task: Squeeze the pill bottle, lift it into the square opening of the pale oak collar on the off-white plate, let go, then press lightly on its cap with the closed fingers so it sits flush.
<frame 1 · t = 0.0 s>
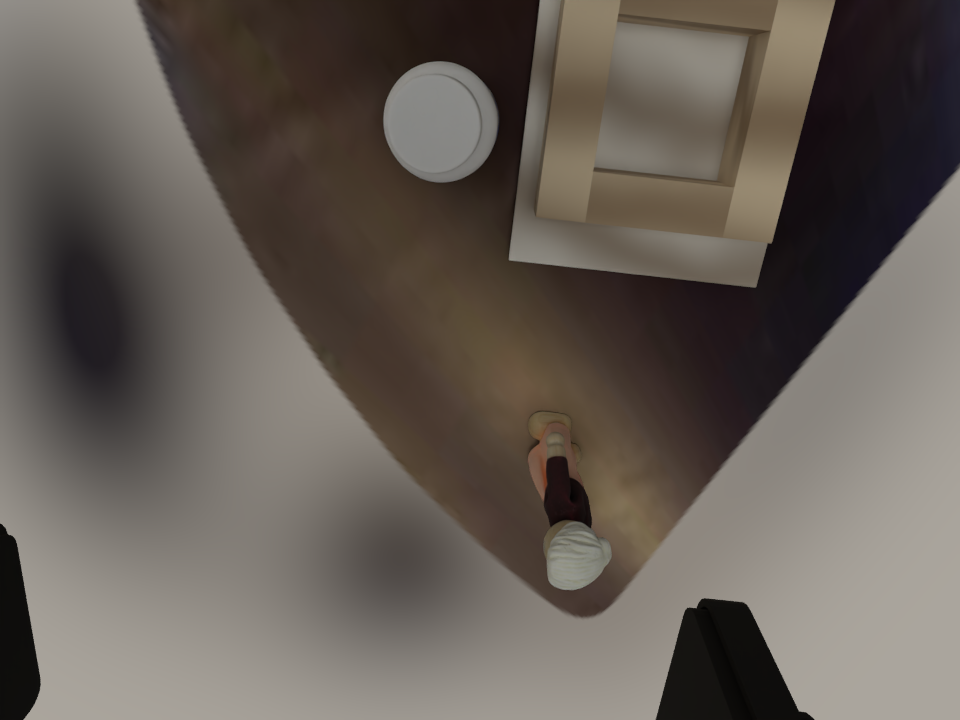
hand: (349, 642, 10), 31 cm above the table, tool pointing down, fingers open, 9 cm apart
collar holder: (660, 103, 36), on the table
grandmother figurine: (556, 446, 44), on the table
pill bottle: (450, 120, 37), on the table
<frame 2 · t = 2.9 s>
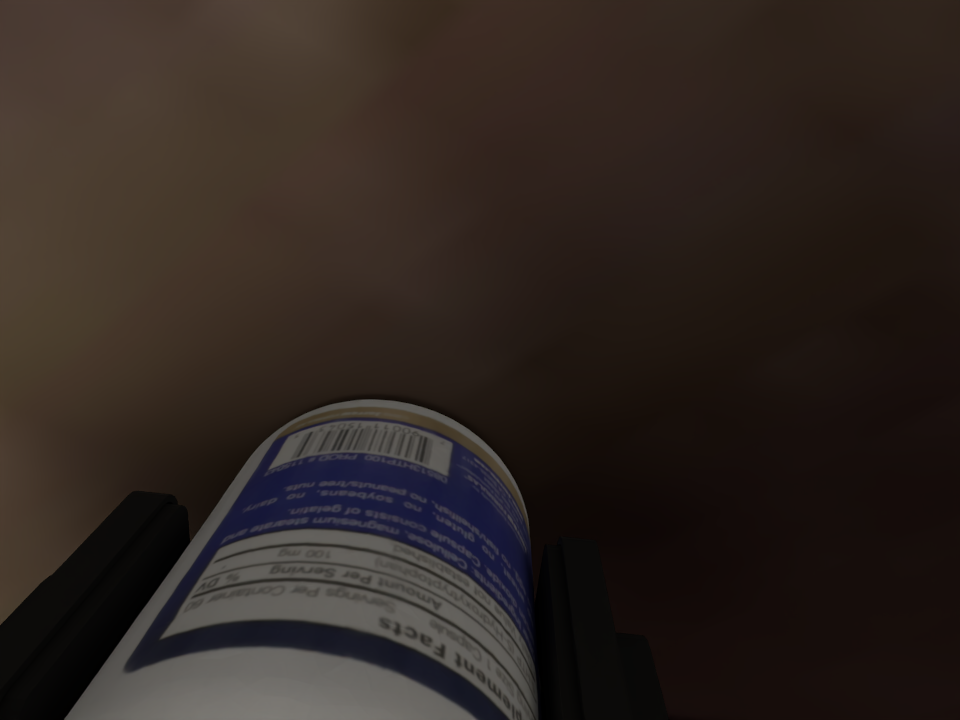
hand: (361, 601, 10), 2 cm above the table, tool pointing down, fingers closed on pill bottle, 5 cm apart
pill bottle: (386, 517, 12), on the table, touching gripper
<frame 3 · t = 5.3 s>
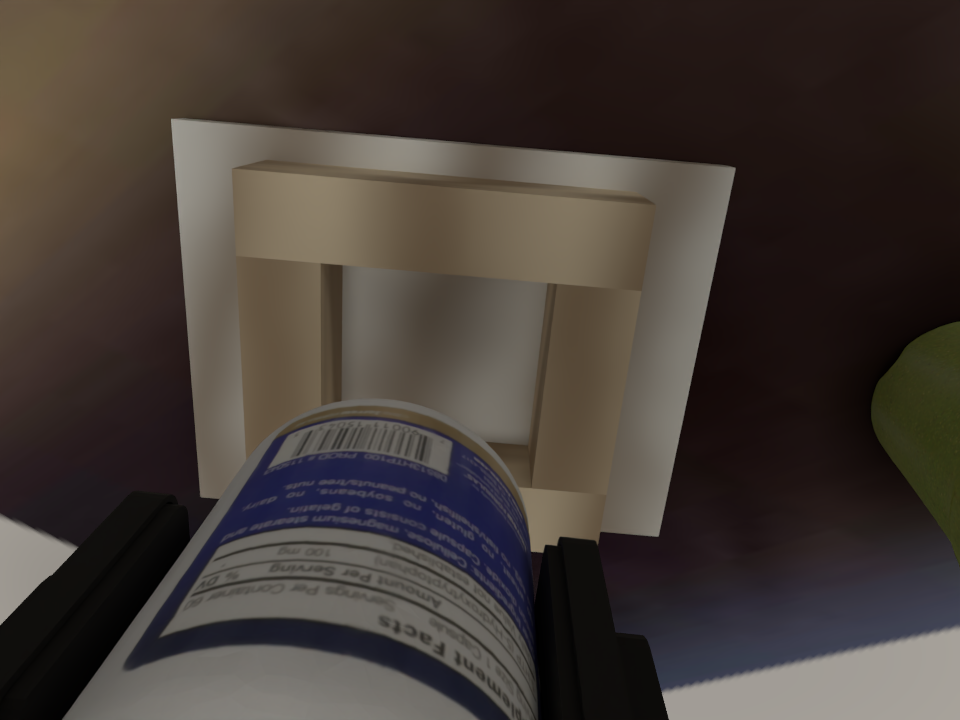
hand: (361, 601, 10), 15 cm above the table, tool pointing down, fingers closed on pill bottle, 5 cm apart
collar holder: (442, 340, 25), on the table
plant pot: (947, 394, 25), on the table
pill bottle: (386, 516, 12), point 13 cm above the table, touching gripper
when the fingers open (4 cm above the table, at t = 7.9 s): pill bottle drops 1 cm, resting on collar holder.
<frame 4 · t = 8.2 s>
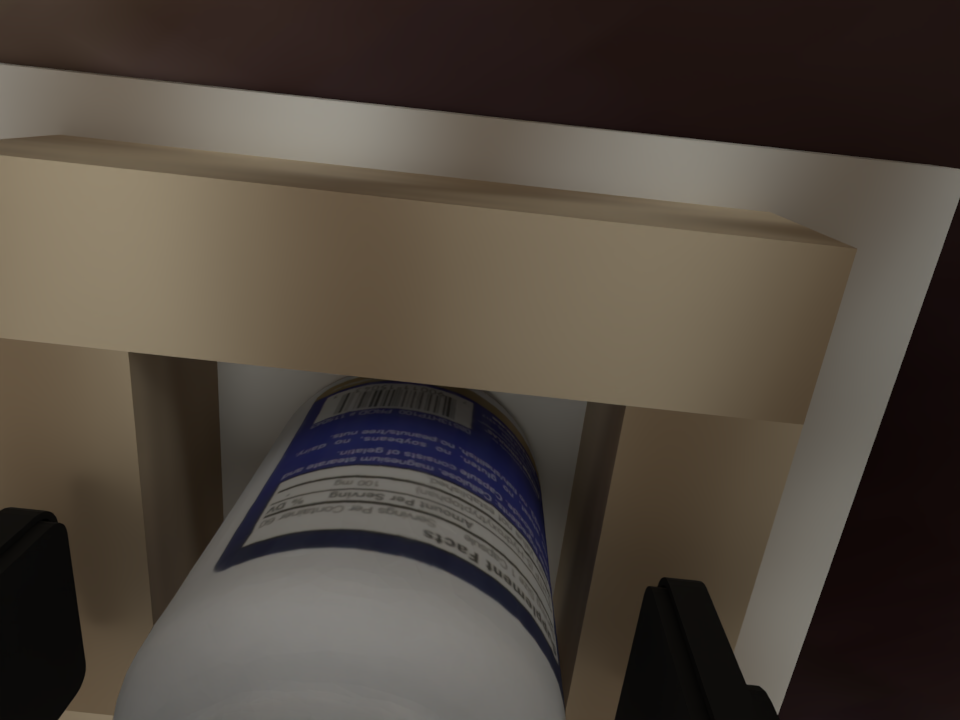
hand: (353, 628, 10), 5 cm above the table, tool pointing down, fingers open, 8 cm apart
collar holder: (402, 457, 14), on the table
pill bottle: (410, 476, 14), point 1 cm above the table, touching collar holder
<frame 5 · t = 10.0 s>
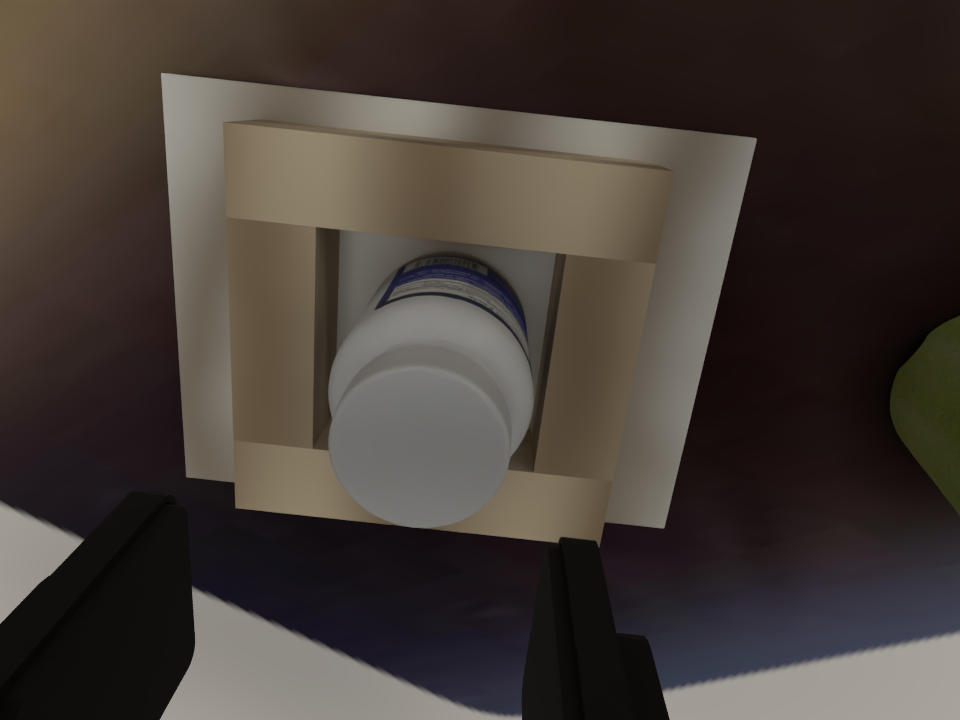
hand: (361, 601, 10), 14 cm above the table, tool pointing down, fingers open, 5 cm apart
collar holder: (443, 317, 24), on the table
pill bottle: (449, 324, 23), point 1 cm above the table, touching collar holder
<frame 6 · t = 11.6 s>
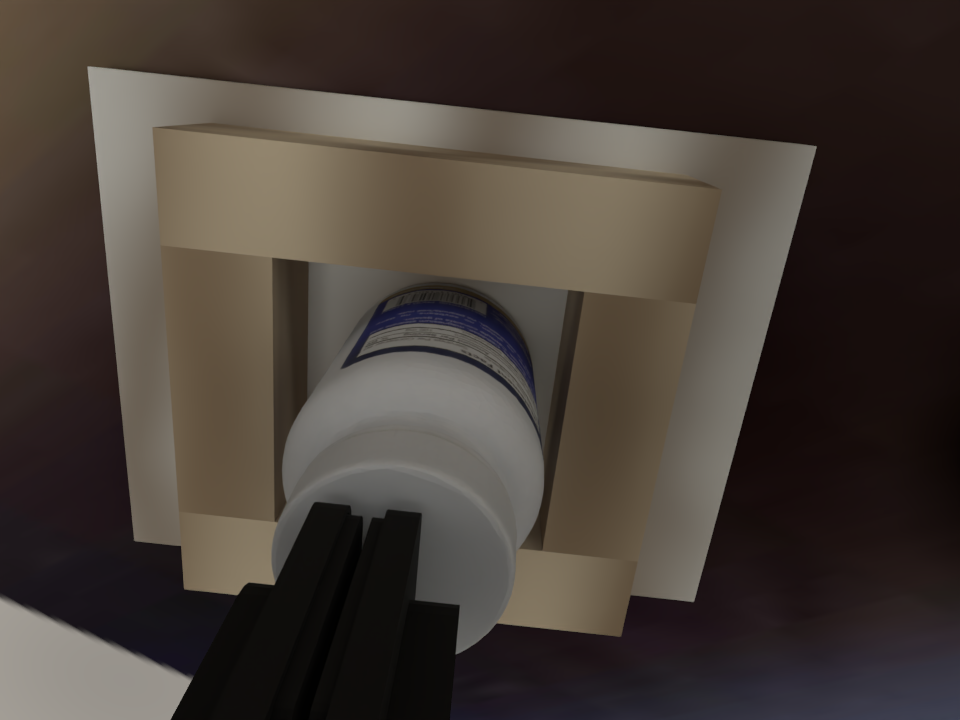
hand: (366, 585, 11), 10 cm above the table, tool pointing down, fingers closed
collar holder: (434, 357, 20), on the table
pill bottle: (441, 366, 19), point 1 cm above the table, touching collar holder
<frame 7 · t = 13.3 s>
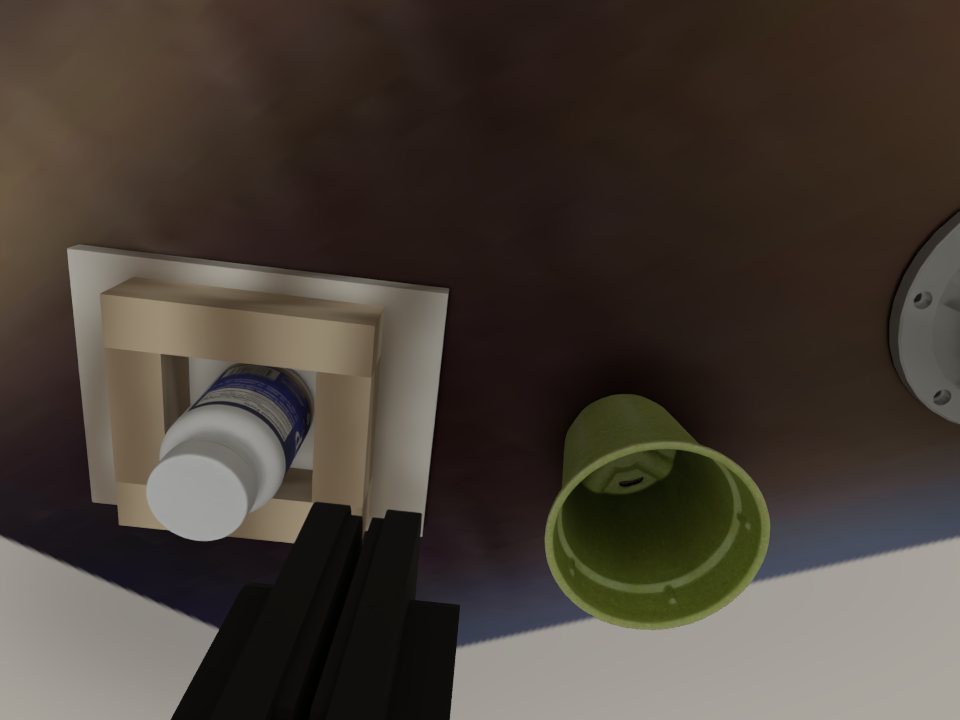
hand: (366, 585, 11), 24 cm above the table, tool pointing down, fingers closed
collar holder: (264, 396, 36), on the table
plant pot: (618, 442, 37), on the table
pill bottle: (265, 402, 35), point 1 cm above the table, touching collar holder
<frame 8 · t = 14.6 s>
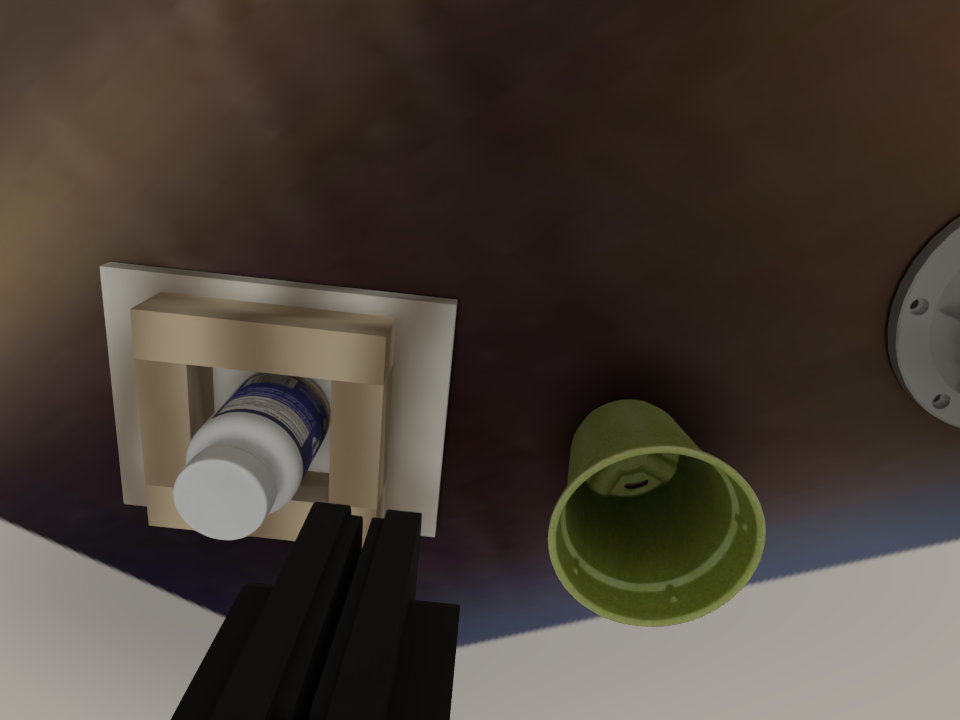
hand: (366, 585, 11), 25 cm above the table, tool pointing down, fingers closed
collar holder: (284, 403, 37), on the table
plant pot: (623, 446, 38), on the table
pill bottle: (285, 409, 37), point 1 cm above the table, touching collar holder
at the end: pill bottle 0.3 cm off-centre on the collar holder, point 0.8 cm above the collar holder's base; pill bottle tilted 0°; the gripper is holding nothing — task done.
